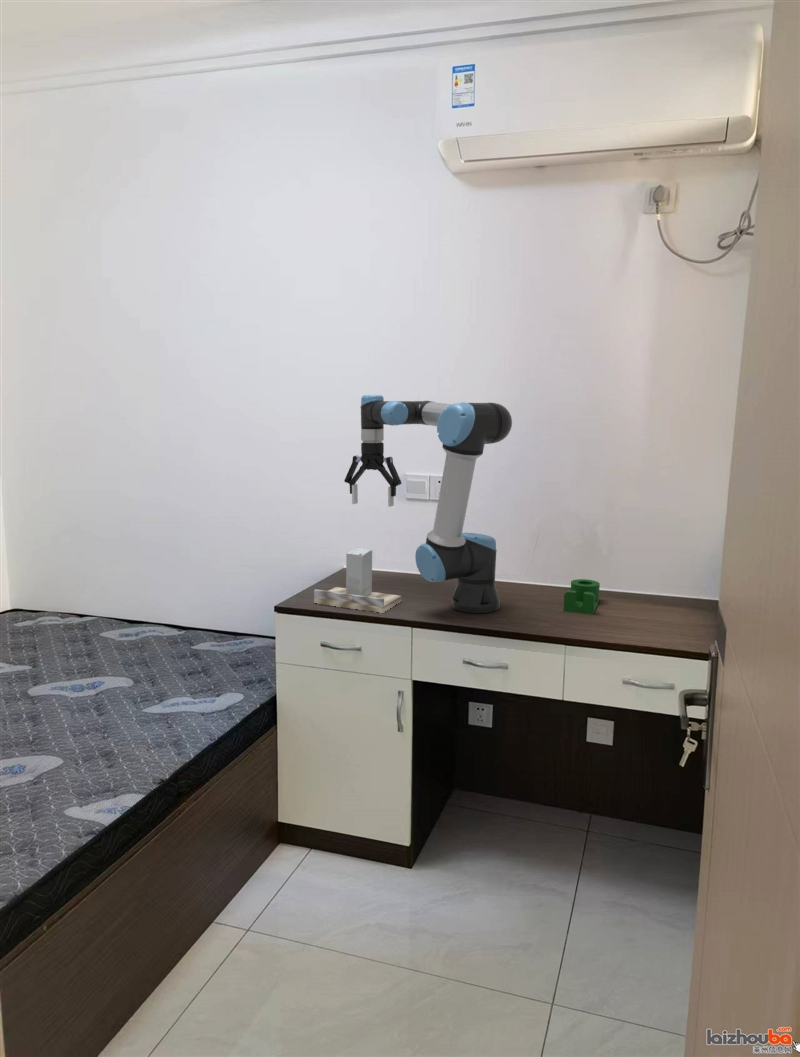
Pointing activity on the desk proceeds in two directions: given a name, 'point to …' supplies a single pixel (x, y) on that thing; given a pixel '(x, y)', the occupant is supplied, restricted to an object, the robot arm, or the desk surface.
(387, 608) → the shelf board
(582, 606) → the slotted cylinder bracket
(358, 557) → the skincare box
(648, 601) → the desk surface
